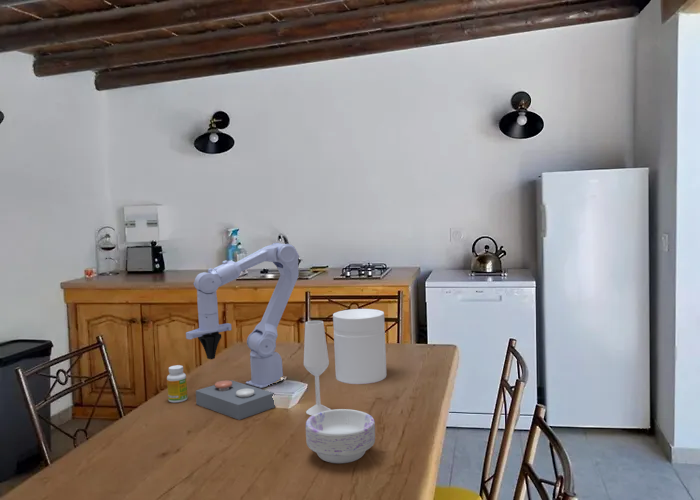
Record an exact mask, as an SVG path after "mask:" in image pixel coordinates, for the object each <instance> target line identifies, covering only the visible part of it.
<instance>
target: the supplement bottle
mask: <svg viewBox="0 0 700 500" xmlns="http://www.w3.org/2000/svg"><path fill="white" fill-rule="evenodd" d="M168 373H169V374H168V375H167V376H166V384H167V385H166V387H167V396H168V397H167V398H168V402H170V403H176V404H177V403H181V402H184V401H186V400H188V384H187V383H188V381H187V375H186V373H185V372H184V366H183V365H180V364H177V365H171V366H169V367H168Z"/></svg>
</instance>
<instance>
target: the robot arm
mask: <svg viewBox="0 0 700 500" xmlns="http://www.w3.org/2000/svg"><path fill="white" fill-rule="evenodd" d="M299 258H300V255H299V253H298V251H297V249H296V248H295V246H294V245H292V244H290V243H281V242H274V243H272V244H269V245H266V246H264V247H261V248H260V249H257V251H255V252H252V253H251V254H248V255H247V256H245V257H243V258H241V259H240V260H238V261H233V260H227V259H226V260H223V261H222V262H221V263H222V264H219V265H218V266H216V267H213V268H212V267H209V268H208V269H207V272H206V271H204V272H200V273H198V274H197V275H196V276H195V278H194V282H193V287H195V289H196V297H197V298H196V299H197V302H196V303H197V313H198V315H197V317H198V328H196V329H193V330H189V331H187V332H185V339H186V340H193V339H198V340H199V342H200V343H201V345H202V347H203V349H204V352H205V355H206V358H207V359H208V360H214V359H215V358H216V354H217V350H218V345H219V343H220V341H221V339H222V334H221V333H222V332H227V331H232V323H228V322H227V323H222V324H221V323H219V307H218V297H217V294H218V293H217V291H218V289H219V287H222V286H225V285H227V284H229V283H231V282H233V281H235V280H237V279H238V278H239V277H240V275H241V272H244V271H245V270H248V269H250V268H253V267H255V266H257V265H260V264H262V263H264V262H270V263H273V264H274V265H275V266H276V269H277V271H278V272H279V278H278V280H277V283H276V285H275V286H274V287H275V288H274V290H273V292H272V294H271V297H270V298H269V302H268V304H267V306H266V308H265V310H264V311H265V312H264V313H263V315H262V318H261V321H260V322H258V323H257V324H256V325H255V327H254V329H253V330H252V332H250V334H248V336H247V339H246V345H247V347H248V349H249V350H250V353H249V357H250V358H249V360H250V362H249V363H250V376H251V379H250V380H247V381H246V382H245V384H246V385H249V386H253V387H256V388H259V389H264V388H266V387H269V386H271V385H270V384H272V383H274V382H276V381H277V380H279V379H280V377H282V376H283V377H284V374H283V371H284V370H283V360H282V356H281V355H280V354H279V352H278V351H276V347H277V342H276V341H277V338H278V335H279V334H278V326H279V324H280V321H281V320H282V316H283V314H284V311H285V309H286V306H288V305H287V304H288V301H289V300H290V297H291V295H292V292H293V291H294V287H295V285H296V283H297V280H298V278H299V276H300V275H299V274H300V272H299ZM268 385H269V386H268ZM272 385H273V384H272Z"/></svg>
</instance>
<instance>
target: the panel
mask: <svg viewBox="0 0 700 500" xmlns="http://www.w3.org/2000/svg"><path fill="white" fill-rule="evenodd" d="M228 381H232V386H231V387H229V390H225V391H219V388H216V387H215V384H213V385H210V386H206V387H203V388H200V389H197V390H195V400H196V401H195V402H196V403H195V404H196V405H197V406H200V407H201V408H204V409H208V410H211V411H212V412H213V411H214V412H216V413H219V414H220V415H225V416H227V417H231V418H232V419H235V420H238V421H240V420H243V419H246V418H248V417H251V416H254V415H255V416H256V415H257V414H259V413H263V412H265V411H268V410H271V409H274V408H275V407H276V404H275V405H274V400H273V398H272V396H273V394H274V395H275V392H272V391H270V392H269V390H266V391H265V389H264V388H259V387H256V386H253V385H249V384H246V383H242V382H238V381H235V380H233V379H230V380H228ZM240 389H253V390H254V395H252V396H250V397H247V398H240V397H238V396H236V391H238V390H240Z"/></svg>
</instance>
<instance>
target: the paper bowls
mask: <svg viewBox="0 0 700 500" xmlns="http://www.w3.org/2000/svg"><path fill="white" fill-rule="evenodd" d="M375 424H376V423H375V419H374V417H373V416H372V415H370V414H369V413H367V412H365V411H361V410H356V409H350V408H346V409H345V408H337V409H334V408H333V409H331V410H327V411H323V412H319V413H316V414H314V415H310V416H309V417H308V418H307V420H306V421H305V438H306V440H305V442H306V445H307V447H308V448H309V449H310V450H311V451H312V452H314V453H316V454H317V456H318V458H320V459H321V460H322V461H325V462H327V463H331V464H349V463H352V462H355V461H358V460H359V459H360V458H362V457H363V456H364V455H365V454H366V451H368V450H369V449H370V448H372V447H373V446H374V445H375V442H376V425H375Z"/></svg>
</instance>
